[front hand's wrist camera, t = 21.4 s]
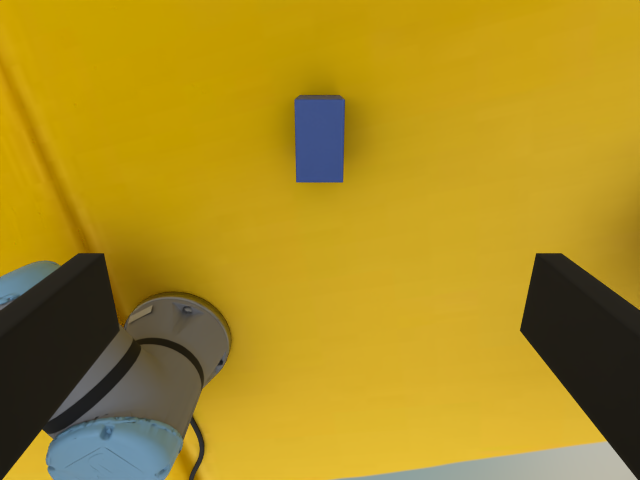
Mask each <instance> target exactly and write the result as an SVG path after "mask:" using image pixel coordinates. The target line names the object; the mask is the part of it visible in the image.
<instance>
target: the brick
mask: <svg viewBox="0 0 640 480" xmlns="http://www.w3.org/2000/svg"><path fill="white" fill-rule="evenodd" d="M344 112H345V100H344V99H343V98H342V97H341V96H340V95H299V96H298V97H297V98H296V99H295V141H296V182H343V158H344Z"/></svg>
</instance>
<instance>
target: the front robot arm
mask: <svg viewBox="0 0 640 480" xmlns="http://www.w3.org/2000/svg"><path fill="white" fill-rule="evenodd" d="M520 331H521V332H522V334H523V335H524V336H525V338H526V339H527V340H528V341H529V343H530V344H531V345H532V346H533V348H534V349H535V350H536V351H537V353H538V354H539V355H540V356H541V358H542V359H543V360H544V362H545V363H546V364H547V365H548V367H549V368H550V369H551V370H552V372H553V373H554V374H555V375H556V377H557V378H558V379H559V381H560V382H561V383H562V384H563V386H564V387H565V388H566V389H567V391H568V392H569V393H570V394H571V396H572V397H573V398H574V399H575V401H576V402H577V403H578V405H579V406H580V407H581V408H582V410H583V411H584V412H585V413H586V415H587V416H588V417H589V418H590V420H591V421H592V422H593V424H594V425H595V426H596V427H597V429H598V430H599V431H600V432H601V434H602V435H603V436H604V437H605V439H606V440H607V441H608V442H609V444H610V445H611V446H612V448H613V449H614V450H615V451H616V453H617V454H618V455H619V456H620V458H621V459H622V460H623V461H624V463H625V464H626V465H627V467H628V468H629V469H630V470H631V472H632V473H633V474H634V475H635V477H636V478H637V479H638V480H640V310H638V309H637V308H636V307H634V306H633V305H632V304H630V303H629V302H627V301H626V300H625V299H623V298H622V297H621V296H619V295H618V294H617V293H615V292H614V291H612V290H611V289H610V288H608V287H607V286H606V285H604V284H603V283H601V282H600V281H599V280H597V279H596V278H595V277H593V276H592V275H590V274H589V273H588V272H586V271H585V270H584V269H582V268H581V267H579V266H578V265H577V264H575V263H574V262H573V261H571V260H570V259H568V258H567V257H566V256H564V255H563V254H562V253H536V257H535V262H534V266H533V271H532V276H531V281H530V285H529V290H528V295H527V300H526V304H525V309H524V314H523V319H522V323H521V328H520ZM230 347H231V334H230V330H229V327H228V324H227V322H226V320H225V319H224V317H223V316H222V315H221V313H220V312H219V311H218V310H217V309H216V308H215V307H214V306H212V305H211V304H210V303H208V302H207V301H205V300H203V299H201V298H199V297H197V296H194V295H191V294H187V293H181V292H165V293H160V294H156V295H153V296H151V297H149V298H147V299H145V300H144V301H143V302H141V303H140V304H139V305H138V306H137V307H136V308H135V309H134V311H133V312H132V313H131V315H130V316H129V317H128V319H127V321H126V323H125V325H124V328H123V327H122V326H121V325H120V324H119V323H118V319H117V314H116V309H115V304H114V300H113V295H112V290H111V285H110V281H109V276H108V271H107V266H106V262H105V257H104V253H78V254H77V255H76V256H74V257H73V258H72V259H70V260H69V261H67V262H66V263H65V264H63V265H62V266H60V265H59V264H57V263H55V262H51V261H38V262H34V263H31V264H28V265H26V266H23V267H21V268H19V269H16V270H14V271H12V272H10V273H8V274H6V275H4V276H1V277H0V480H2V479H3V478H4V477H5V475H6V474H7V473H8V472H9V470H10V469H11V468H12V467H13V465H14V464H15V463H16V461H17V460H18V459H19V458H20V456H21V455H22V454H23V453H24V451H25V450H26V449H27V448H28V446H29V445H30V444H31V442H32V441H33V440H34V439H35V437H36V436H37V435H38V434H39V432H40V431H41V430H44V431H45V432H46V433H47V434H48V435H49V436H51V437H52V438H53V439H54V440H52V442H51V443H50V446H49V447H48V448H49V449H48V452H47V455H46V464H47V465H48V472H49V474H50V476H51V477H52V478H53V479H54V480H164V479H165V478H166V477H167V475H168V474H169V472H170V470H171V468H172V466H173V464H174V462H175V460H176V458H177V455H178V454H179V453H180V451H181V449H182V446H183V440H184V437H185V434H186V432H187V429H188V426H189V423H191V425H192V427H193V429H194V431H195V433H196V435H197V438H198V441H199V446H200V454H199V458H198V460H197V462H196V464H195V466H194V468H193V470H192V472H191V475H190V478H189V480H193V478H194V475H195V473H196V471H197V469H198V468H199V466H200V464H201V461H202V459H203V455H204V442H203V438H202V435H201V433H200V430H199V428H198V426H197V424H196V423H195V421H194V419H193V417H192V415H193V413H194V410H195V407H196V404H197V402H198V399H199V396H200V393H201V391H202V389H203V388H204V387H205V386H206V385H207V384H208V383H209V382H210V380H211V379H212V378H213V377H214V376H215V375H216V374H217V373H218V372H219V371H220V370H221V369H222V368H223V366H224V364H225V362H226V360H227V357H228V354H229V351H230Z"/></svg>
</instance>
